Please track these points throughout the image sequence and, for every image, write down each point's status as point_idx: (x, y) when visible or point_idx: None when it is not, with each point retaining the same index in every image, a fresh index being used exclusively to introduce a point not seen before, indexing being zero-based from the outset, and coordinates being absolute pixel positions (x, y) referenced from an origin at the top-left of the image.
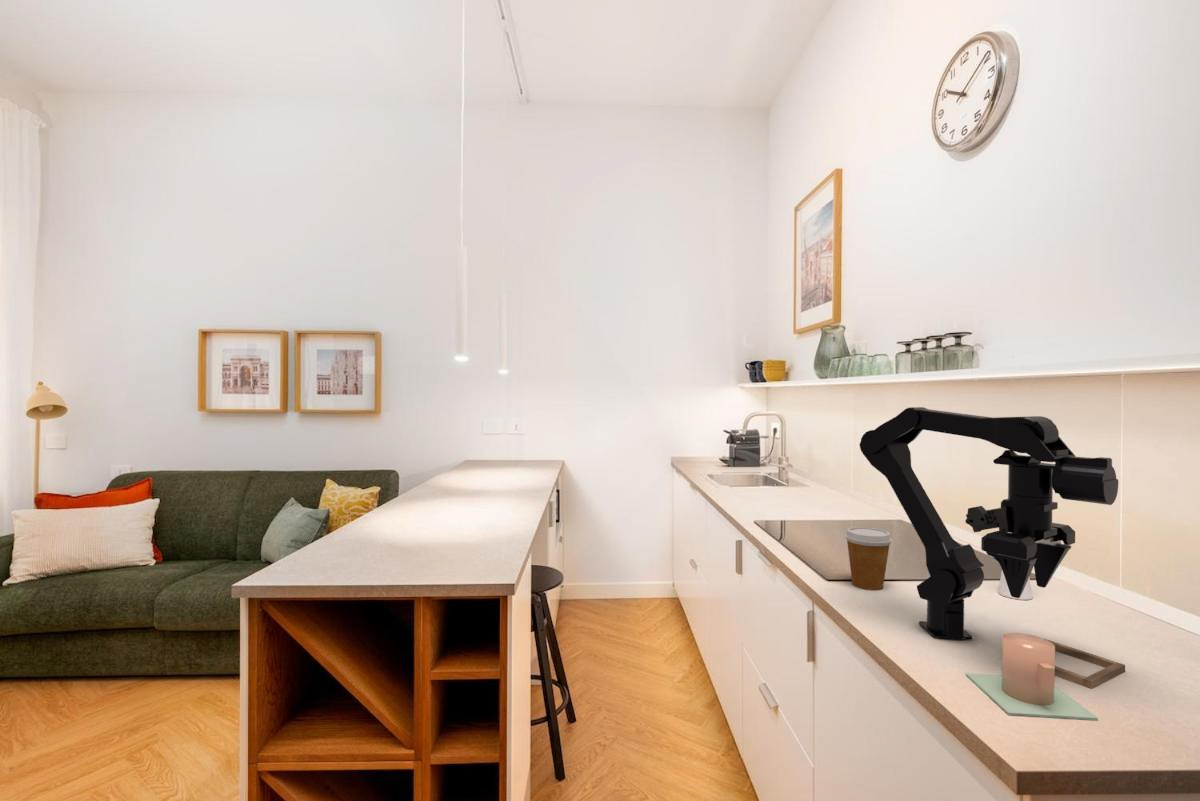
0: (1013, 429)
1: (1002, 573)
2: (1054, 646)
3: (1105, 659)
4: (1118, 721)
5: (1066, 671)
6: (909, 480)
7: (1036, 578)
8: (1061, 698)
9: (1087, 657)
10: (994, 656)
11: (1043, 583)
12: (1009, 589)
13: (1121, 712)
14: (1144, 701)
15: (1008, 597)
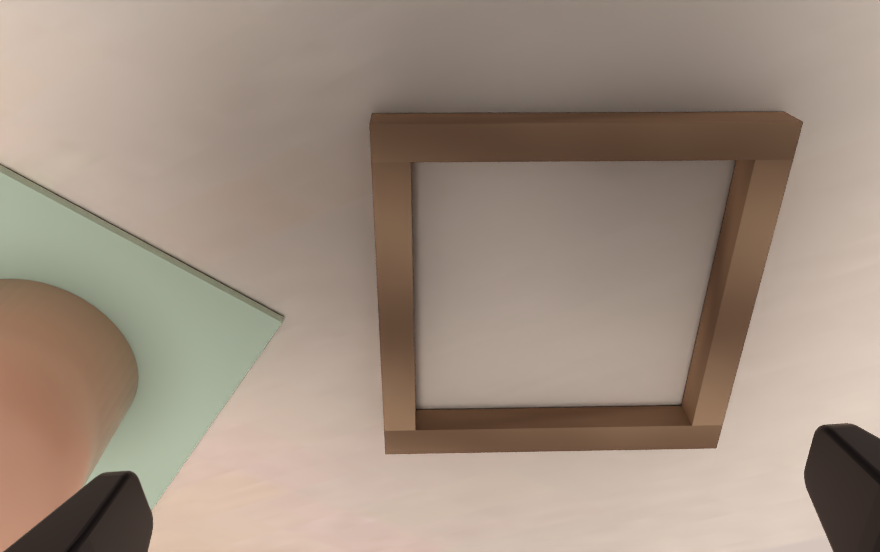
0: None
1: None
2: None
3: (717, 393)
4: (202, 549)
5: (397, 372)
6: None
7: (877, 485)
8: (149, 434)
9: (708, 330)
10: (319, 55)
11: (833, 507)
12: (35, 531)
13: (281, 533)
14: (451, 535)
15: None
